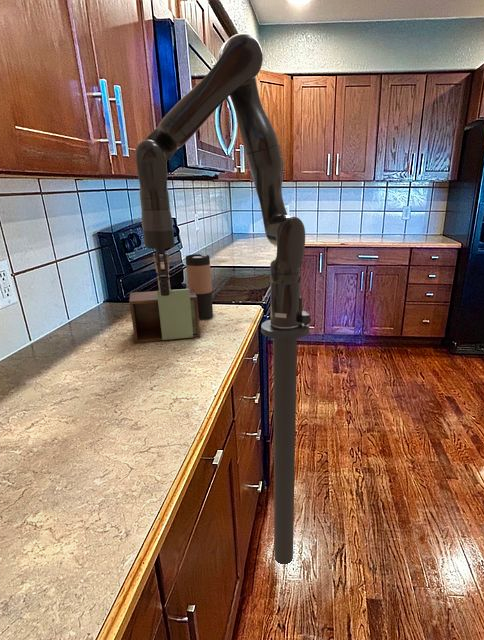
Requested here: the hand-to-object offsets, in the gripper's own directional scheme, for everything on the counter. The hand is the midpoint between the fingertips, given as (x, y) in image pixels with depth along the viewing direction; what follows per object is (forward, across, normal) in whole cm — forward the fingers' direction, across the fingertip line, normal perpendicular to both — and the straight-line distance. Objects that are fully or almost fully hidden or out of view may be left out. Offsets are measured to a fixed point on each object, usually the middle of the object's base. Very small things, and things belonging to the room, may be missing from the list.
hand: (165, 293), depth 114 cm
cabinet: (+14, +6, 0) cm, 15 cm away
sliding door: (+13, 0, -2) cm, 13 cm away
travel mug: (+14, +21, -12) cm, 27 cm away
